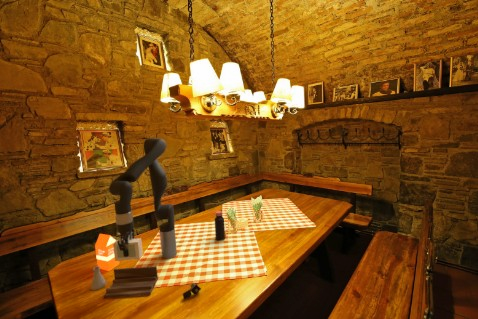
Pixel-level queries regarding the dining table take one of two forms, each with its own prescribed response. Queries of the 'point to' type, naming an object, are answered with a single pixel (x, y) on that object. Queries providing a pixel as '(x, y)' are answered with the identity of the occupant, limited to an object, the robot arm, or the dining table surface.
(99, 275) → the flask
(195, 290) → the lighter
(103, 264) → the orange juice
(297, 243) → the dining table surface
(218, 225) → the bottle
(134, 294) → the picture ledge
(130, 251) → the white rectangular block
